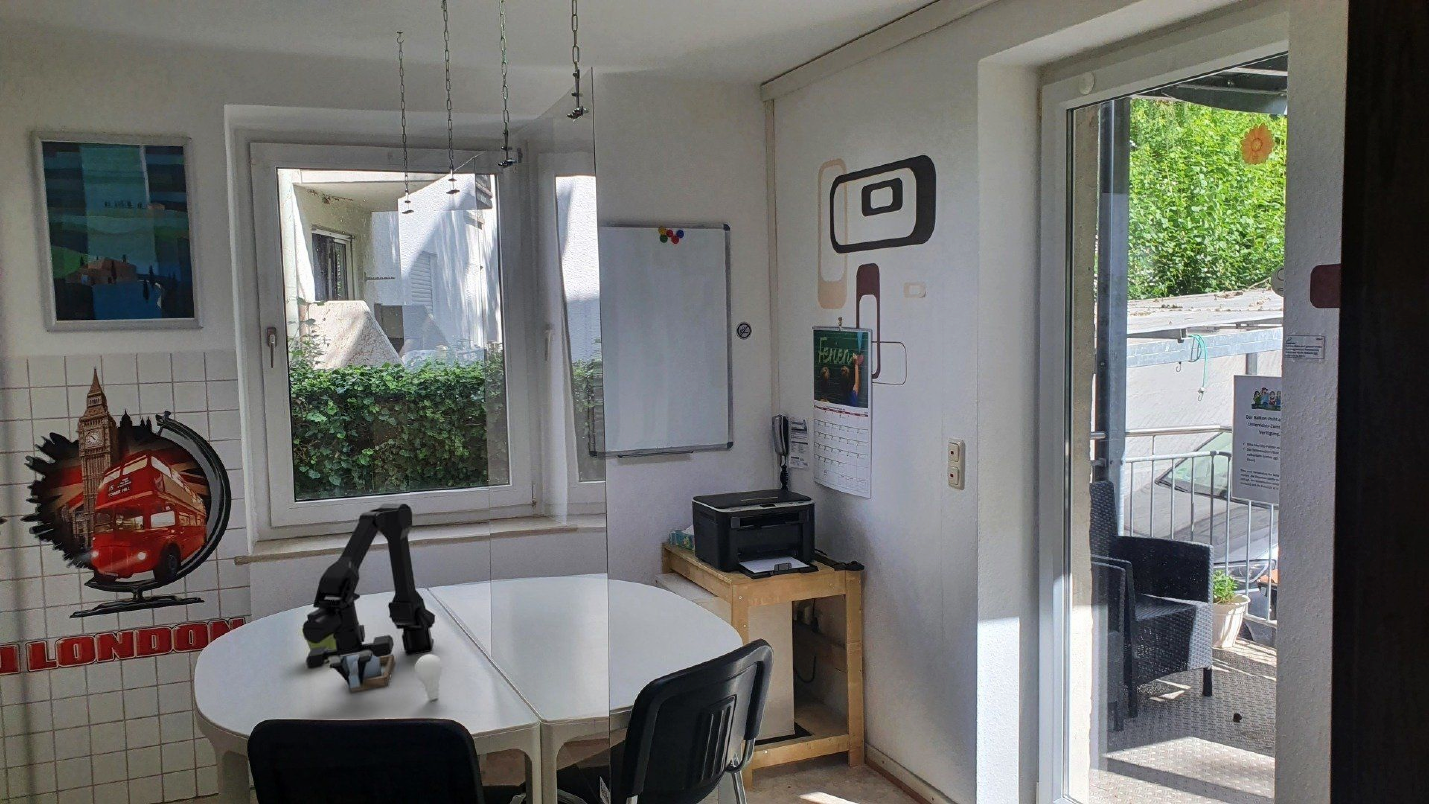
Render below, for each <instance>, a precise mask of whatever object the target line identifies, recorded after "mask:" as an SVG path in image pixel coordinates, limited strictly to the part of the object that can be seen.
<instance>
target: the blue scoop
mask: <svg viewBox="0 0 1429 804" xmlns="http://www.w3.org/2000/svg"><path fill="white" fill-rule="evenodd" d="M358 659H359V655H358V654H355V655H350V656H347V663H348V667H349V670H350V674H349V682H350V687H351V688H354V687H359V686H360V680H359V672H358V664H357V662H358ZM382 671H383V670H382V666H381V665H380V660H379V657H376V656H374V655H373V656H372V659H371V661H370V662H367V663H366V668H365V674H364V679H369V678H375V677H380V676H383V672H382ZM350 687H349V688H350Z"/></svg>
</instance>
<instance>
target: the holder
mask: <svg viewBox="0 0 1429 804" xmlns="http://www.w3.org/2000/svg"><path fill="white" fill-rule="evenodd" d="M379 660H380V665H381V667H382V666H386V667H385V671H384V673H383V675H382V676H380V677H375V678H369V679H364V680H363V684H362V685H361V684H360V686H359V687H354V688H351V687H350V685H349V684H348V686H349V692H350V693H352V692H358V691H364V690H368V689H375V688H381V687H386V686H389V685H388V684H390V681H391V677H390V675H391V676H392V674H391V673H393V669H394V665H395V663H396V662H395V655H394V654H393V653H391V654H390V655H387V656H381V657H379ZM389 680H390V681H389Z"/></svg>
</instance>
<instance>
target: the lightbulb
mask: <svg viewBox="0 0 1429 804" xmlns="http://www.w3.org/2000/svg"><path fill="white" fill-rule="evenodd" d="M442 671H443V663H442V660H441V659H440V658H439V656H436V655H435V654H431V653H430V654H429V653H428V654H424V655H422V656H421V657H419V658H418V659H417V661H416V663H415V665H414V673H415V675H416V677H417V679H419V681H420V682H421V683H422V686H423V687H424V691H425V692H426V695H427V698H428V700H432V701H434V700H436V699H437V698H439V696H440V692H439V691H440V690H439V687H440V683H439V682H440V677H441V674H442Z"/></svg>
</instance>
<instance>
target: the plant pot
mask: <svg viewBox="0 0 1429 804" xmlns="http://www.w3.org/2000/svg"><path fill="white" fill-rule="evenodd" d="M300 632H301V636H303V638H304V640H305V641H306V643H307V645H308V648H309V651H310V650H311V649H312V648H317V647H322V646H327V647H328V649H329V650H335V649H336V644H335V640H334V639H333V634H332V635H330V636H329V637H327V638H326V639H324V640H323V641H321V642H320V643H317V644H314V643H311V642H309V641H308V640H307V639H306V638H305V636H304V634H303V632H302V630H301V631H300ZM327 662H330V661H329V659H327V660H324V664H326V663H327Z"/></svg>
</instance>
